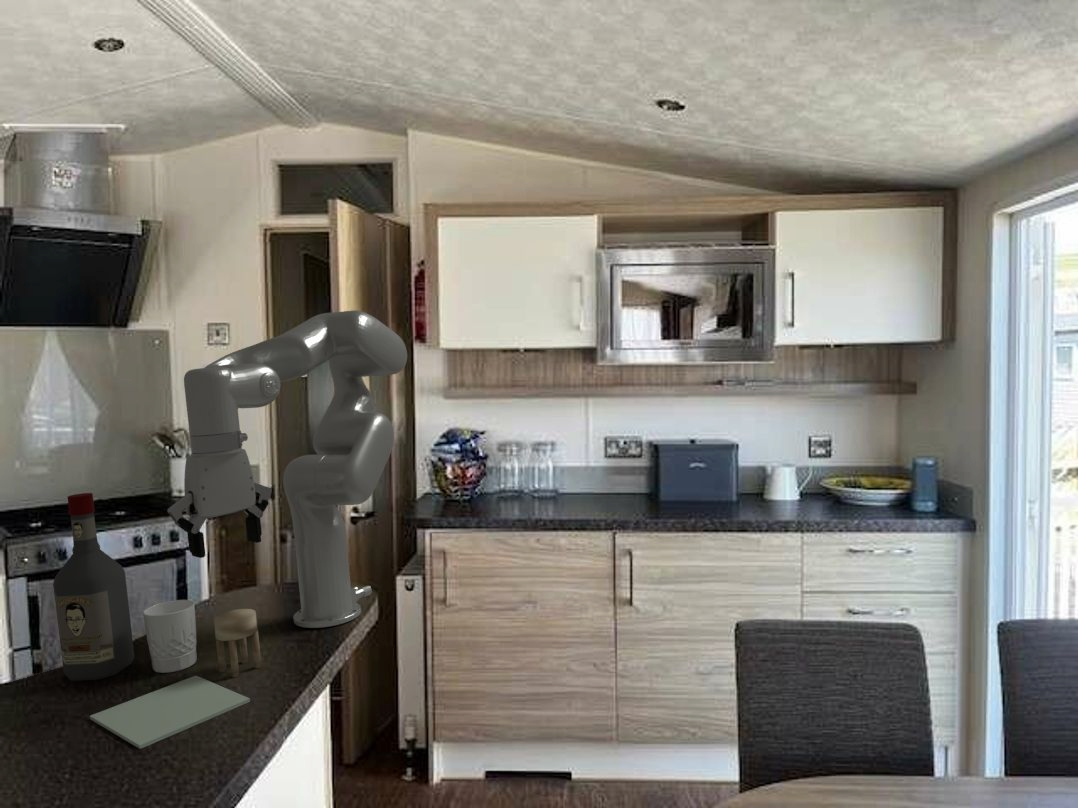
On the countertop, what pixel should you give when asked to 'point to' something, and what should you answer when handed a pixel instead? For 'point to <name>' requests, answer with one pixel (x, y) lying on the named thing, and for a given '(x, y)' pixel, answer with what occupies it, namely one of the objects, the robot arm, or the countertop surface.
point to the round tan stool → (236, 637)
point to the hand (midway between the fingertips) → (227, 548)
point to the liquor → (91, 603)
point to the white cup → (171, 635)
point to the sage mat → (168, 711)
